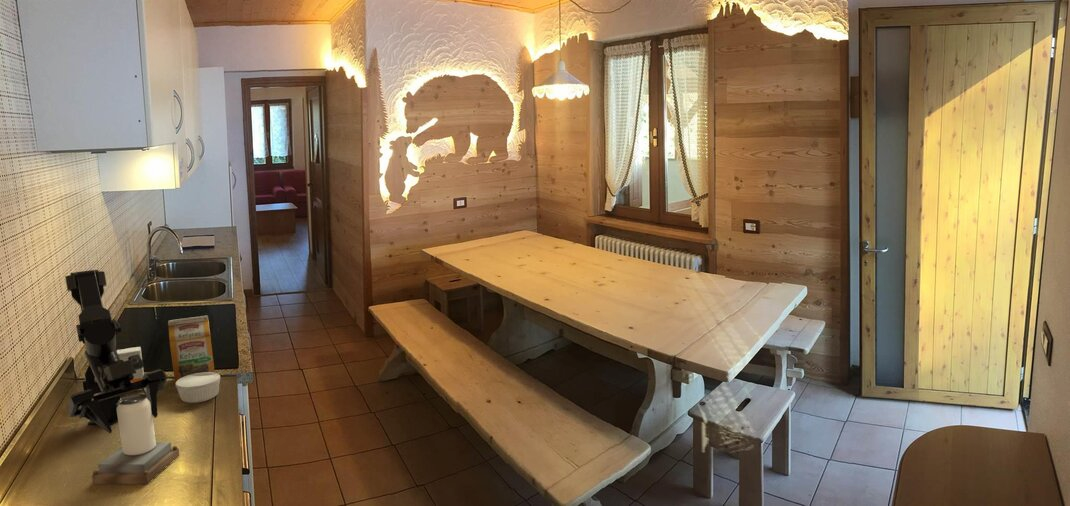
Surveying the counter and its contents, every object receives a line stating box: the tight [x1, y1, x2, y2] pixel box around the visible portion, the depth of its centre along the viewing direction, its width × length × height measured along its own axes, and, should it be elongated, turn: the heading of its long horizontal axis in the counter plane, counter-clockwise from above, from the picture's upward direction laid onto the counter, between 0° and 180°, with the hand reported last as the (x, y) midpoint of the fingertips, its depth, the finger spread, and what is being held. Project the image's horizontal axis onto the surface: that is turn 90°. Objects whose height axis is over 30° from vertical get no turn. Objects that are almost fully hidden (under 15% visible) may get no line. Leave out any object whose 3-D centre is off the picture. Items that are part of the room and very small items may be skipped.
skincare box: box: [116, 346, 145, 392], centre depth 193 cm, size 6×4×12 cm
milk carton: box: [167, 315, 216, 387], centre depth 200 cm, size 11×11×19 cm
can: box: [117, 393, 157, 456], centre depth 149 cm, size 6×6×12 cm
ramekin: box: [175, 372, 221, 404], centre depth 188 cm, size 11×11×5 cm
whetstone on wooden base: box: [91, 441, 180, 485], centre depth 149 cm, size 12×12×4 cm
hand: (134, 424), depth 146 cm, fingers open, 9 cm apart
